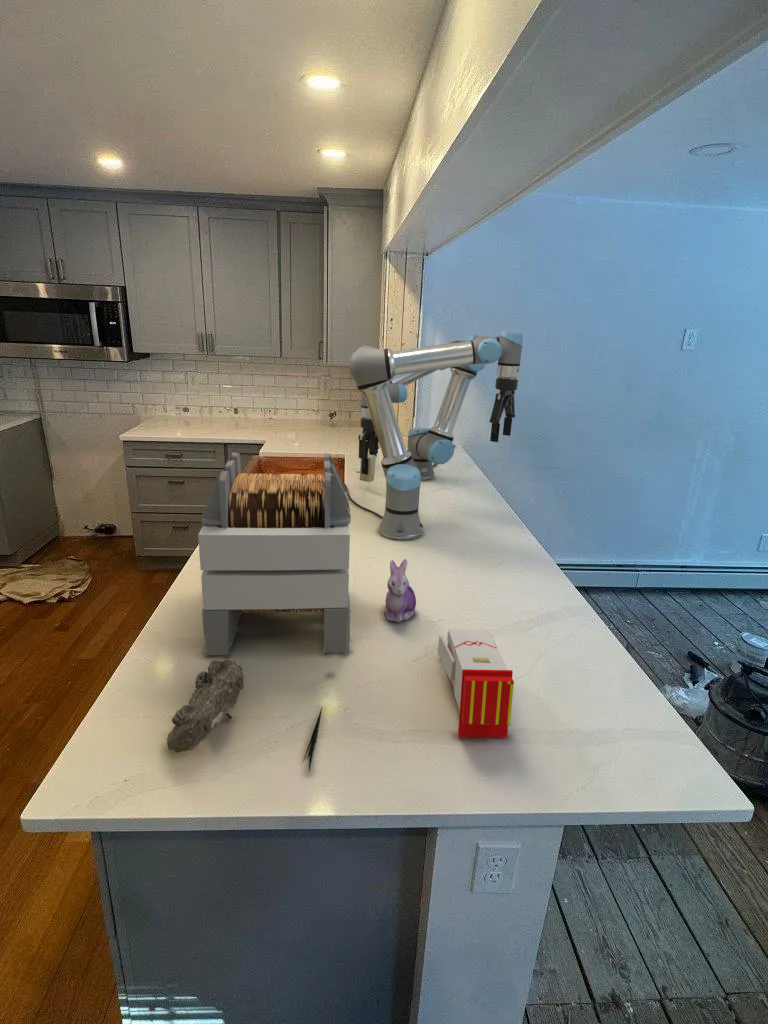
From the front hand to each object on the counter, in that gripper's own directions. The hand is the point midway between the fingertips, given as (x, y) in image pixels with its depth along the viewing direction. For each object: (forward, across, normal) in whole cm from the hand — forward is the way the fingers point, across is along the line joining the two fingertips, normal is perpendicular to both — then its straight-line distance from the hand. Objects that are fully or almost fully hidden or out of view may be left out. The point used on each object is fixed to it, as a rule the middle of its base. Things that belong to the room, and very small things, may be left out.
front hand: (500, 438), depth 203 cm
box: (+27, +4, +58) cm, 64 cm away
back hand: (+24, +4, +57) cm, 62 cm away
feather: (+32, -123, -9) cm, 128 cm away
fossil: (+32, -133, +8) cm, 138 cm away
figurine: (+32, -79, -3) cm, 86 cm away
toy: (+32, -99, -31) cm, 109 cm away
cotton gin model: (+32, -98, +20) cm, 105 cm away
